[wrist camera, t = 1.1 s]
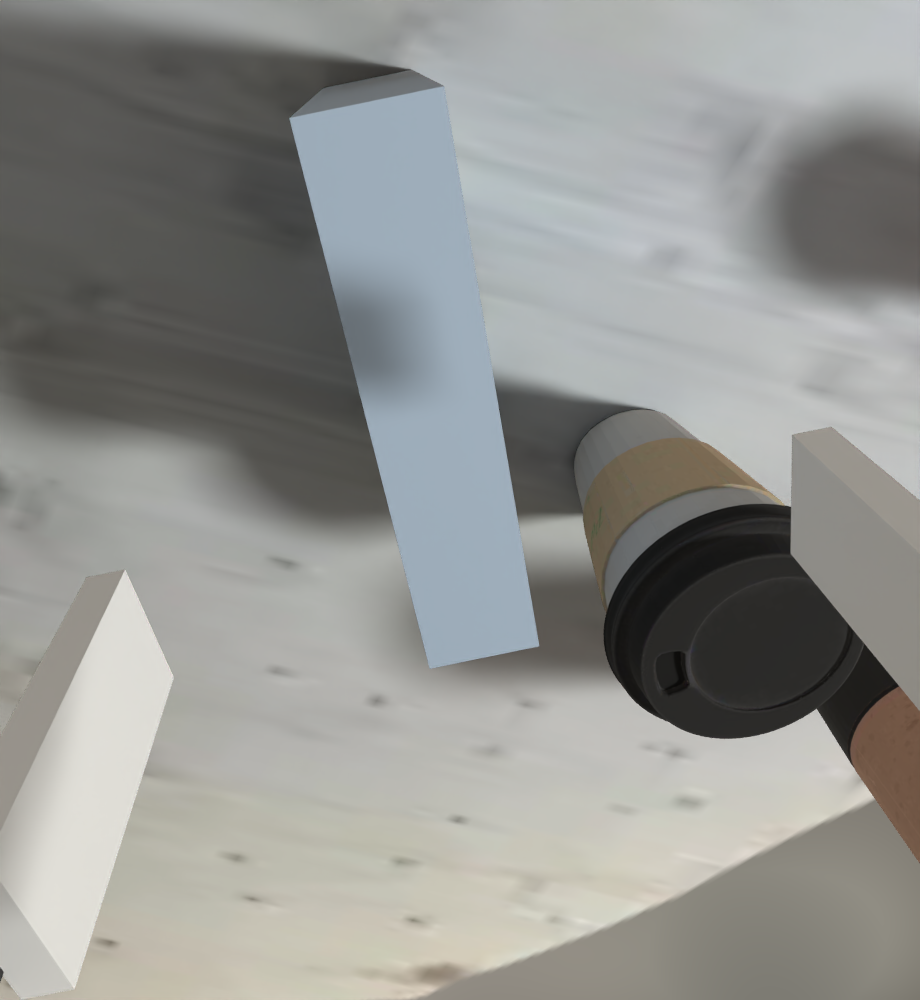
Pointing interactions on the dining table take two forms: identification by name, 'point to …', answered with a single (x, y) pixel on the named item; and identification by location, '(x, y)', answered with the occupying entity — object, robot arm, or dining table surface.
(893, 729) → the travel mug
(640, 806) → the dining table surface
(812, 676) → the coffee cup
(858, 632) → the robot arm
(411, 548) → the light blue slab
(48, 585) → the dining table surface
